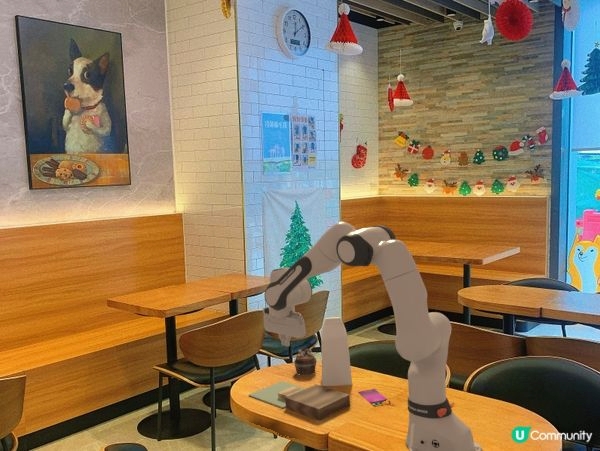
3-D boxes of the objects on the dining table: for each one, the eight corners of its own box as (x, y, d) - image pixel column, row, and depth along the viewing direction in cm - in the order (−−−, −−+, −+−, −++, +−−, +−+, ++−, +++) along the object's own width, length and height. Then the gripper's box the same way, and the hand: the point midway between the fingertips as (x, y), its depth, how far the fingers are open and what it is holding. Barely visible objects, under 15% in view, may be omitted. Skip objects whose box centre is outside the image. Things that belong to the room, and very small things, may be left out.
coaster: (308, 396, 213) (307, 391, 213) (292, 403, 208) (292, 397, 207) (293, 391, 219) (293, 386, 219) (278, 398, 213) (277, 392, 213)
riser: (350, 405, 204) (349, 394, 203) (319, 420, 193) (318, 409, 192) (316, 394, 216) (315, 384, 215) (286, 408, 205) (285, 397, 204)
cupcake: (292, 370, 244) (290, 348, 244) (313, 367, 247) (311, 345, 246) (298, 377, 235) (297, 354, 235) (320, 374, 238) (318, 351, 237)
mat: (317, 393, 217) (317, 392, 217) (283, 408, 204) (282, 407, 204) (282, 382, 231) (282, 381, 231) (248, 395, 219) (248, 394, 219)
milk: (322, 386, 224) (318, 322, 222) (322, 376, 236) (318, 315, 234) (352, 384, 224) (348, 320, 222) (350, 374, 235) (347, 313, 233)
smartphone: (373, 408, 201) (373, 406, 201) (358, 393, 215) (357, 391, 215) (392, 405, 203) (392, 403, 203) (375, 390, 217) (375, 387, 217)
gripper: (308, 311, 207) (311, 348, 208) (272, 305, 222) (274, 339, 223) (296, 315, 203) (298, 352, 204) (259, 308, 218) (262, 343, 219)
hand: (285, 345), depth 214 cm, fingers closed
